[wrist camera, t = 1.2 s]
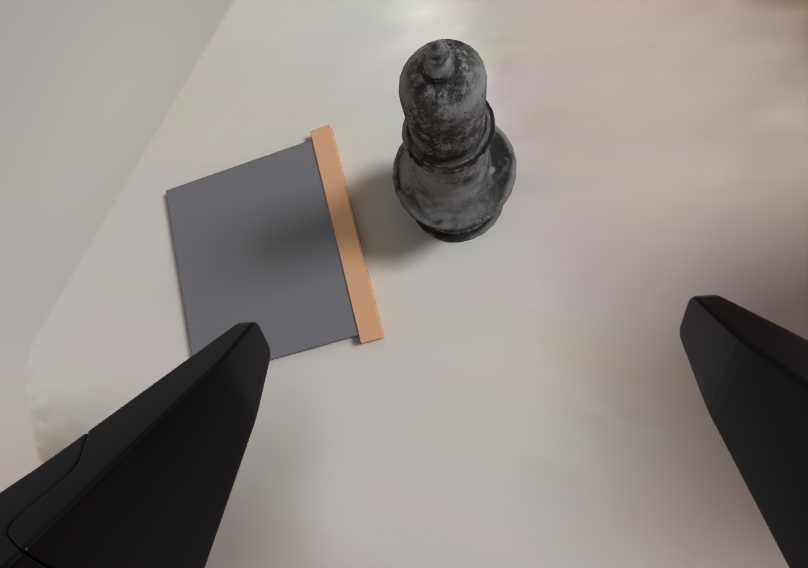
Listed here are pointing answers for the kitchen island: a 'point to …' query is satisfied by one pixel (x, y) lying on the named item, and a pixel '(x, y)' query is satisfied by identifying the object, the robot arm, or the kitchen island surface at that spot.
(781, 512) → the robot arm
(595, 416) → the kitchen island surface
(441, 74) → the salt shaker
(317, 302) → the dough scraper
